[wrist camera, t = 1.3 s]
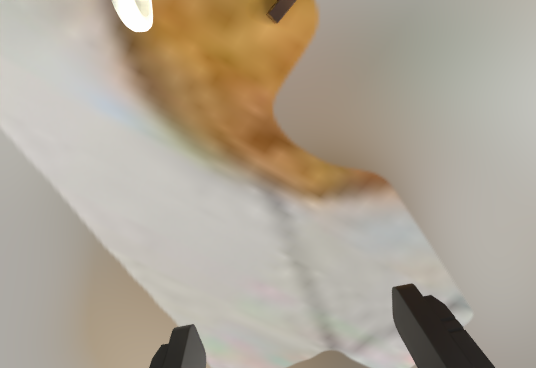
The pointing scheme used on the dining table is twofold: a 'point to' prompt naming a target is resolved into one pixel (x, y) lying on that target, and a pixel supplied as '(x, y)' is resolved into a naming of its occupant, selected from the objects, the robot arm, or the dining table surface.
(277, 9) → the bay
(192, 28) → the dining table surface
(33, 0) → the dining table surface
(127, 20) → the pitcher
